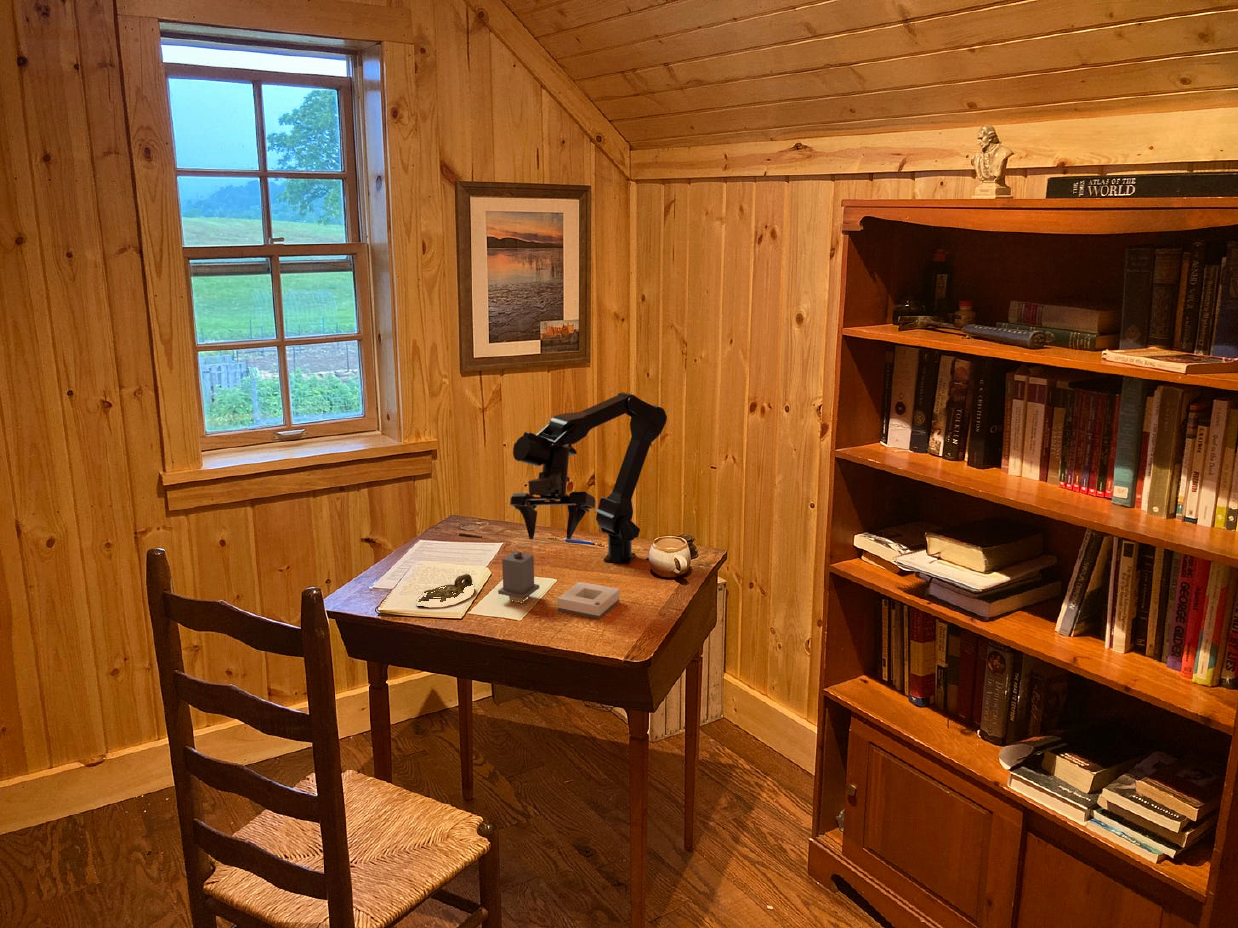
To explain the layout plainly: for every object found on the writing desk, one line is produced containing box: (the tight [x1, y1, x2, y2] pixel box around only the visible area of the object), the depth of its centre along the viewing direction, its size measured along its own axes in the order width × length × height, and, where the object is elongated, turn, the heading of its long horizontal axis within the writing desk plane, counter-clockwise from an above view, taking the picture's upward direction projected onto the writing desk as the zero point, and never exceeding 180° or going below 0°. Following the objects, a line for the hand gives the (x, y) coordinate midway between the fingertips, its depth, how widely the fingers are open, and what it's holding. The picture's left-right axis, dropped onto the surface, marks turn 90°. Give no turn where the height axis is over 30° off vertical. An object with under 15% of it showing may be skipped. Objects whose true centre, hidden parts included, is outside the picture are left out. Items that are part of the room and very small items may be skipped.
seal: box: [418, 573, 474, 602], centre depth 219 cm, size 9×5×15 cm
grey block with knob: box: [497, 551, 540, 603], centre depth 217 cm, size 7×7×11 cm
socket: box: [556, 581, 620, 620], centre depth 215 cm, size 10×10×3 cm
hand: (549, 539), depth 218 cm, fingers open, 9 cm apart
